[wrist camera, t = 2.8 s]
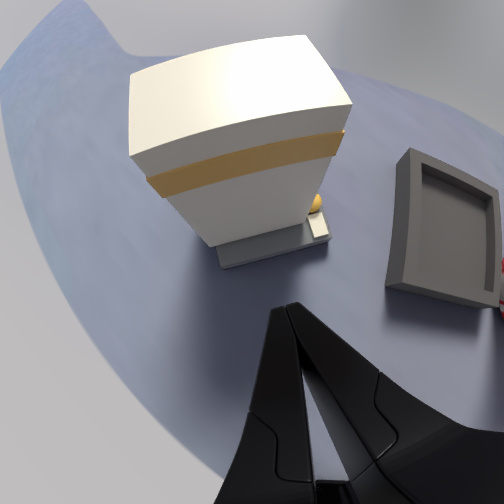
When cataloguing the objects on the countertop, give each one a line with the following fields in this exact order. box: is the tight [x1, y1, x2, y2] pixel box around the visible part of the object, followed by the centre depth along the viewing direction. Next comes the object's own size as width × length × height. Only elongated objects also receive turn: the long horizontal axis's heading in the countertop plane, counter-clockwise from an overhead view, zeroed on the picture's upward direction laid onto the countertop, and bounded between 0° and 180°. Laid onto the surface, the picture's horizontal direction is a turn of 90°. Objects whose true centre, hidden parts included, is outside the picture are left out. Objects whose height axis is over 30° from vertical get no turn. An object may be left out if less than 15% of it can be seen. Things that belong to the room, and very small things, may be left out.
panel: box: [216, 193, 332, 269], centre depth 15 cm, size 10×6×2 cm, turn 14°
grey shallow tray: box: [385, 148, 502, 309], centre depth 13 cm, size 8×8×2 cm
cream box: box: [129, 35, 353, 247], centre depth 10 cm, size 3×5×9 cm, turn 104°
